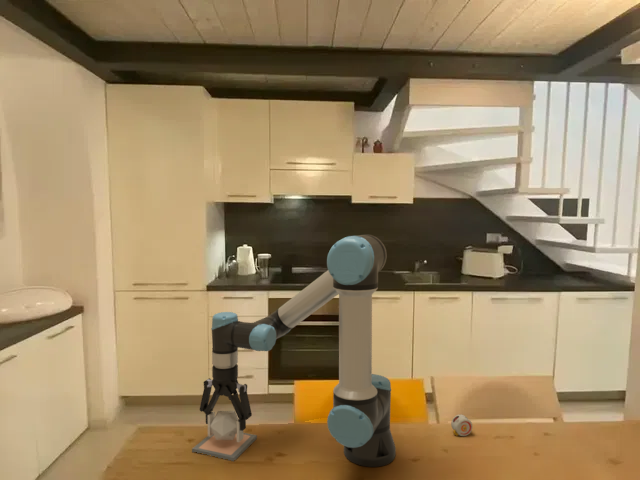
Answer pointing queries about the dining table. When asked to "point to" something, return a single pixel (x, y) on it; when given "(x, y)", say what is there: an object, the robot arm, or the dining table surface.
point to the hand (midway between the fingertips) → (225, 437)
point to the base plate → (224, 446)
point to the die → (224, 425)
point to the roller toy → (461, 425)
